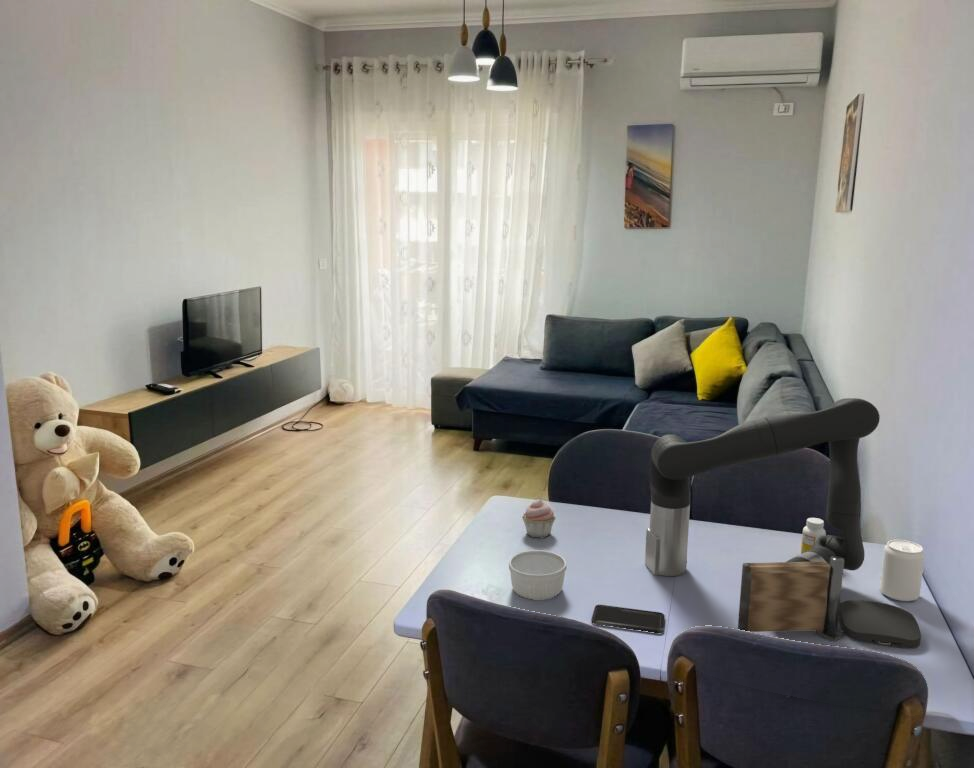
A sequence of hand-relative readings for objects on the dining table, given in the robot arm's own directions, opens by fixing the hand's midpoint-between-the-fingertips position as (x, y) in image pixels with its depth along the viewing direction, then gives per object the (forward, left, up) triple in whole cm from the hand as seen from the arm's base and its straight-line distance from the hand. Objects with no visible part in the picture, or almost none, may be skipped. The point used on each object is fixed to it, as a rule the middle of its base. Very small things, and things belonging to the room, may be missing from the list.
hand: (760, 597), depth 161 cm
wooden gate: (+4, -2, -6) cm, 8 cm away
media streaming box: (+26, -2, -9) cm, 27 cm away
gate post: (+11, +5, -8) cm, 14 cm away
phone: (-25, +10, -9) cm, 28 cm away
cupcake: (-33, +58, -8) cm, 67 cm away
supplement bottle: (+32, +32, -8) cm, 46 cm away
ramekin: (-41, +27, -8) cm, 49 cm away
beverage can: (+40, +10, -8) cm, 42 cm away
